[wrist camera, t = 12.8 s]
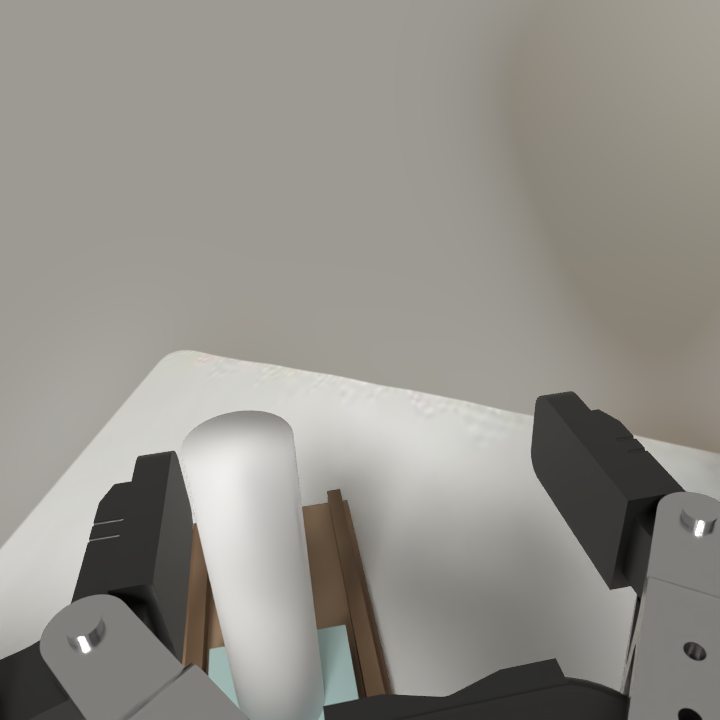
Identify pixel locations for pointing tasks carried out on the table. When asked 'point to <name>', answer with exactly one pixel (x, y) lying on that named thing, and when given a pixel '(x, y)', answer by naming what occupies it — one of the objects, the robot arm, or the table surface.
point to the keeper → (262, 571)
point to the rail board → (329, 588)
